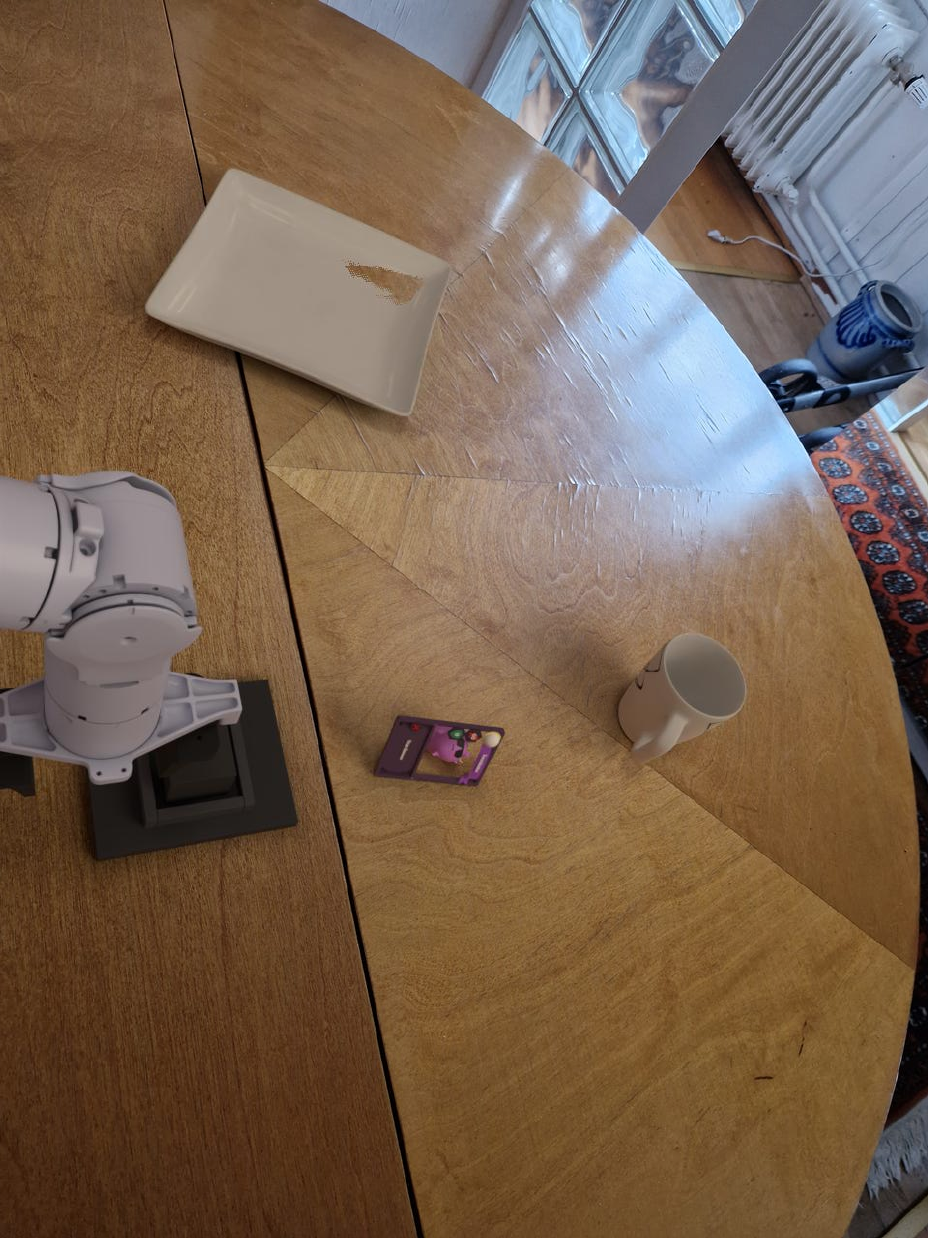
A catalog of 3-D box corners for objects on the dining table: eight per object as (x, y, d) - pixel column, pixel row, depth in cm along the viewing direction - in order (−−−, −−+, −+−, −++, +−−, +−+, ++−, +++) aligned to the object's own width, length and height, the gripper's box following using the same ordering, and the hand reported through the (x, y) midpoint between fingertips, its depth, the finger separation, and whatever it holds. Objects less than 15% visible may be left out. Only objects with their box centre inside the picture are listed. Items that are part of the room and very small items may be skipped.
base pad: (96, 862, 61) (98, 851, 59) (78, 703, 66) (79, 689, 64) (295, 826, 67) (302, 815, 65) (265, 684, 72) (271, 670, 70)
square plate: (444, 286, 107) (456, 260, 104) (399, 442, 92) (411, 416, 89) (225, 188, 102) (230, 157, 99) (137, 337, 86) (140, 305, 83)
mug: (657, 805, 81) (722, 764, 73) (581, 751, 80) (638, 704, 73) (694, 715, 88) (757, 669, 80) (624, 665, 88) (680, 614, 80)
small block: (164, 804, 64) (170, 784, 61) (153, 727, 66) (158, 704, 63) (228, 794, 66) (236, 775, 63) (214, 720, 68) (222, 698, 65)
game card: (399, 725, 67) (507, 738, 70) (392, 678, 71) (495, 692, 74) (374, 783, 71) (479, 793, 74) (369, 735, 75) (468, 746, 78)
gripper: (-59, 768, 39) (-35, 857, 50) (267, 727, 46) (226, 813, 56) (-64, 629, 42) (-40, 741, 53) (243, 609, 49) (208, 712, 59)
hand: (97, 771), depth 55 cm, fingers open, 7 cm apart
